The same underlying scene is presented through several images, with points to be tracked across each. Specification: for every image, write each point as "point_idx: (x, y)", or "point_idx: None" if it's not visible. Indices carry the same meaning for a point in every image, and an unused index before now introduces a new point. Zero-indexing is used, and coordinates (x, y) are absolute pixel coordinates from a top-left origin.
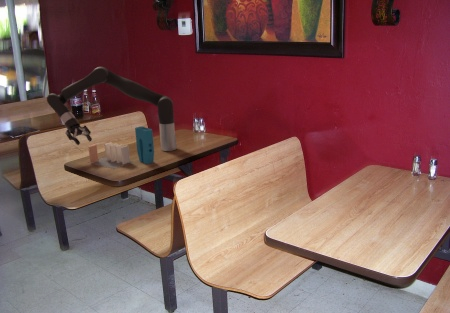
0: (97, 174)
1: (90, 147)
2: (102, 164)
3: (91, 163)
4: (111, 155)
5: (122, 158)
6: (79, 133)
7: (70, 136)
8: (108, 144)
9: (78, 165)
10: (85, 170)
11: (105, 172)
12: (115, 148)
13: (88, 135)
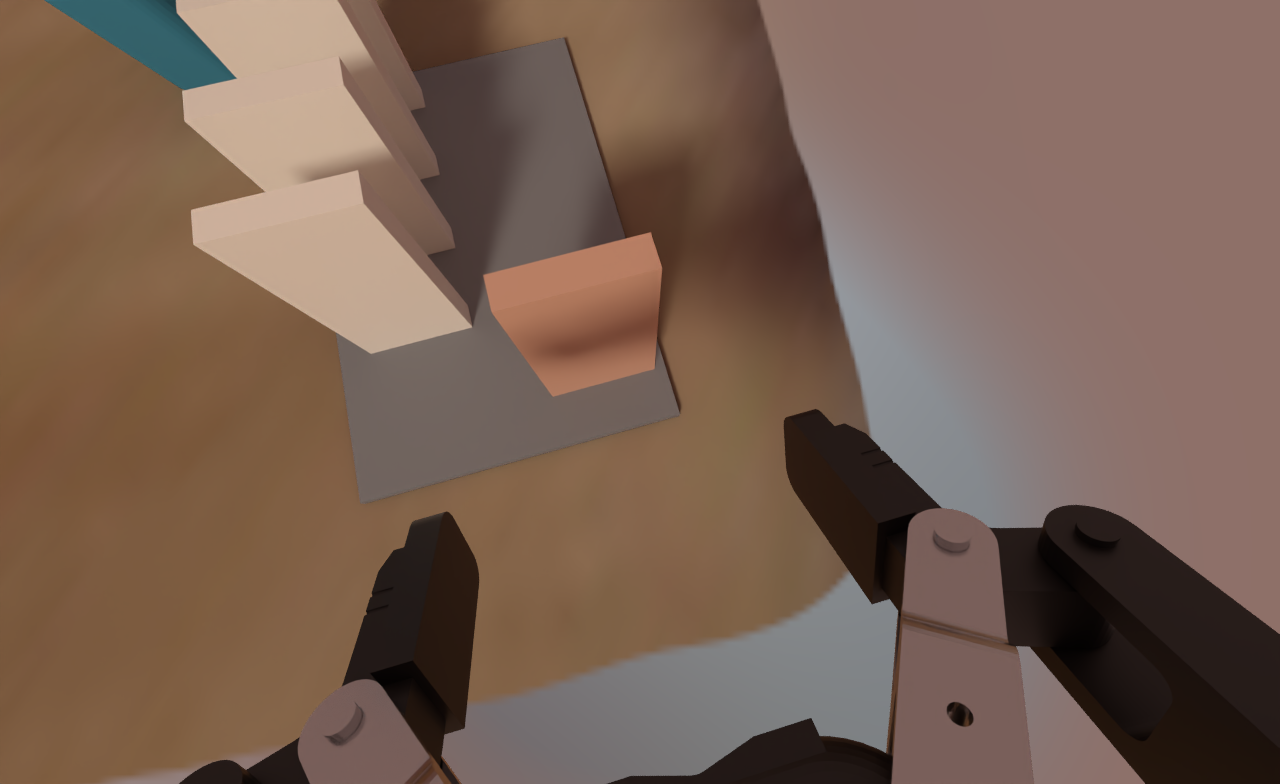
0: (744, 29)
1: (634, 246)
2: (576, 228)
3: None
4: (420, 189)
5: (393, 41)
6: (708, 781)
7: (1174, 561)
8: (301, 196)
9: (788, 413)
10: (789, 197)
11: (664, 29)
12: (347, 15)
13: (400, 640)
